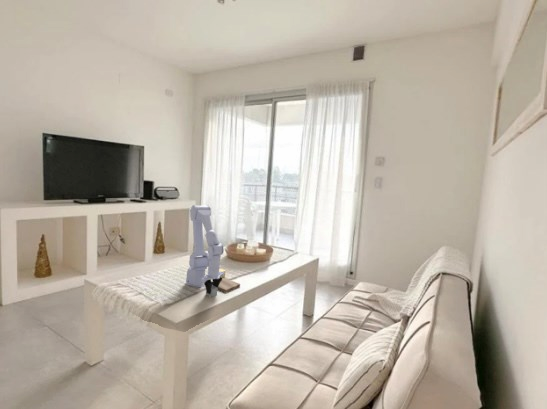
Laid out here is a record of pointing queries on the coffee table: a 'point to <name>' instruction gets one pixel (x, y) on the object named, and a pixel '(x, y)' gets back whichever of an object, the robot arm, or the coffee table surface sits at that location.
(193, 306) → the coffee table surface
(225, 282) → the walnut base
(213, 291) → the grey block
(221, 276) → the mustard block
